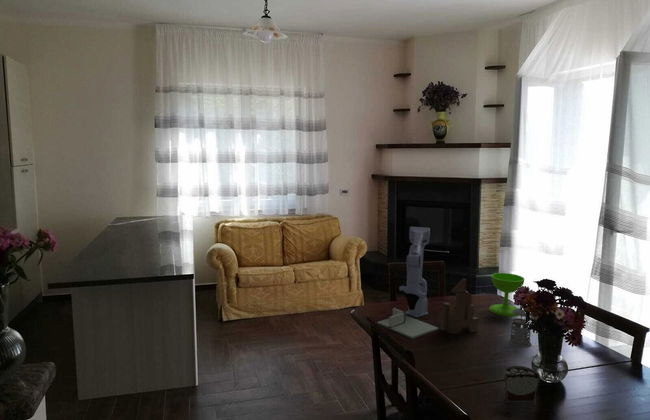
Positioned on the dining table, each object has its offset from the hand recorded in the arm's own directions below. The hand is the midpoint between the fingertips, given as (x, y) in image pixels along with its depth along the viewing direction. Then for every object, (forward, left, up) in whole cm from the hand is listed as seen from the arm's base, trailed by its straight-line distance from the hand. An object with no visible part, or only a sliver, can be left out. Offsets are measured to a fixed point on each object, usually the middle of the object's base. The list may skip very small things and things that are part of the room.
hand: (411, 309), depth 218 cm
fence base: (-3, -10, -9) cm, 14 cm away
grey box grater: (-29, +37, -10) cm, 48 cm away
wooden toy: (-18, +13, -10) cm, 24 cm away
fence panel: (+2, -7, -9) cm, 11 cm away
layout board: (-2, -4, -10) cm, 11 cm away
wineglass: (-60, +11, -10) cm, 62 cm away
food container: (+15, +61, -10) cm, 64 cm away
